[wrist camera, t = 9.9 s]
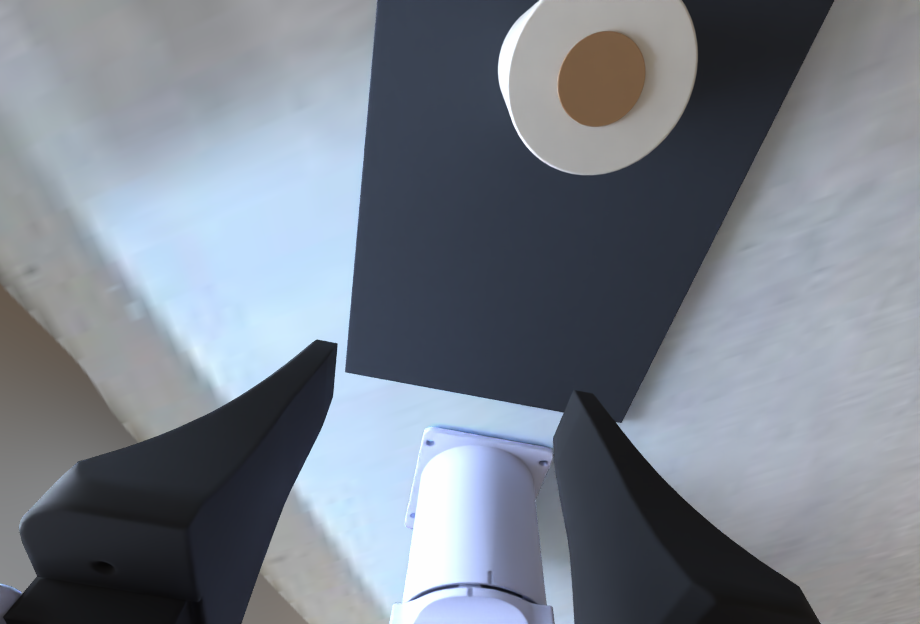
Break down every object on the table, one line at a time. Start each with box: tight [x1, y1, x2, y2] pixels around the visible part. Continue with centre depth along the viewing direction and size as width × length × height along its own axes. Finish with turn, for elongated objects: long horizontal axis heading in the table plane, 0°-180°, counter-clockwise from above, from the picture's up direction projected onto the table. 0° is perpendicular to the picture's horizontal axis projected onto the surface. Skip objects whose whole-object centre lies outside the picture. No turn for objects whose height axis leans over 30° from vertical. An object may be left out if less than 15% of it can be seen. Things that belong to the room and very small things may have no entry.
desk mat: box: [345, 0, 834, 423], centre depth 21 cm, size 22×16×1 cm
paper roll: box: [498, 0, 698, 175], centre depth 14 cm, size 8×4×4 cm
